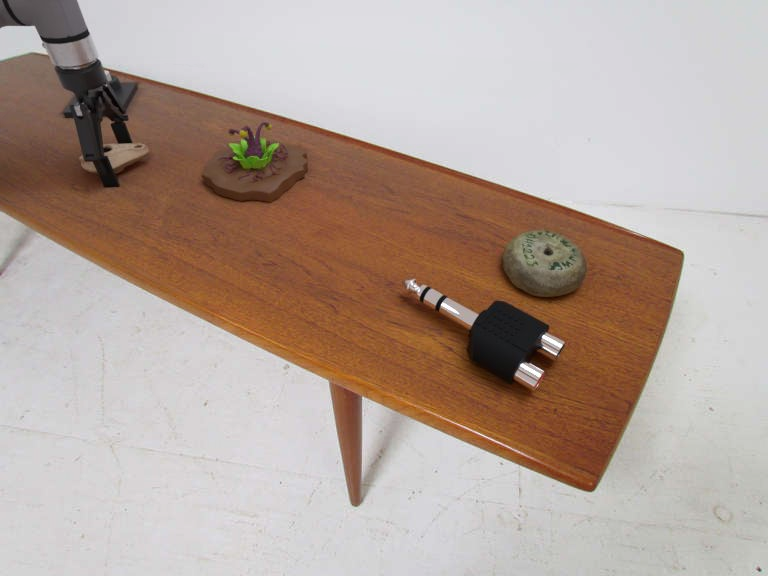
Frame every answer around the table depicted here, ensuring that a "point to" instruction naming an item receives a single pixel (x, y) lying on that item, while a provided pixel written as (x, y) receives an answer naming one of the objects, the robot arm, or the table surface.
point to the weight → (544, 263)
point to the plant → (255, 167)
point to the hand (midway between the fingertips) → (120, 168)
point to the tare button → (108, 75)
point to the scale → (121, 90)
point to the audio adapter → (497, 335)
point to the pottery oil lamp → (119, 156)
